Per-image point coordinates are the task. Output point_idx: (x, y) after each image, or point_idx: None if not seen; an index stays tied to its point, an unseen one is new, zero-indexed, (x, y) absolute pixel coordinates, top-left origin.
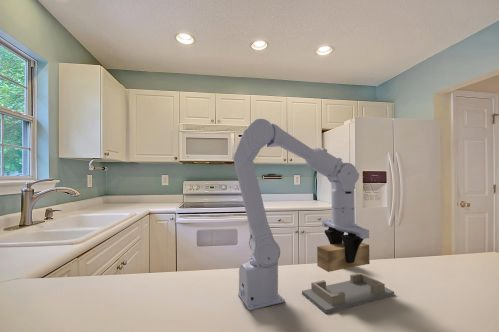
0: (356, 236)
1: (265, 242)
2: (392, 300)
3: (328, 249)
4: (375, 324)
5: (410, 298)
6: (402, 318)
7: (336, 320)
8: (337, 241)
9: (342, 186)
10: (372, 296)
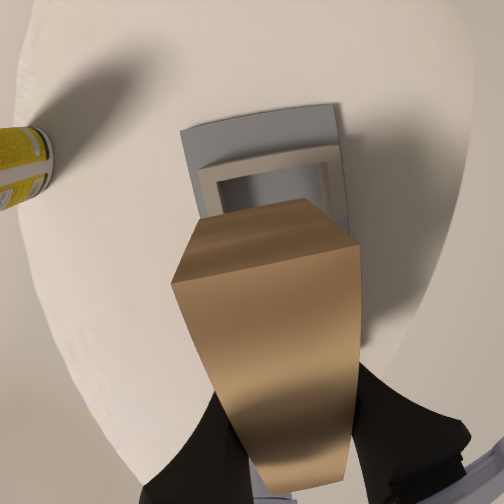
0: (448, 474)
1: None
2: (359, 148)
3: (325, 479)
4: (418, 290)
5: (359, 73)
6: (429, 206)
7: (374, 358)
8: (240, 460)
9: None
10: (343, 221)
